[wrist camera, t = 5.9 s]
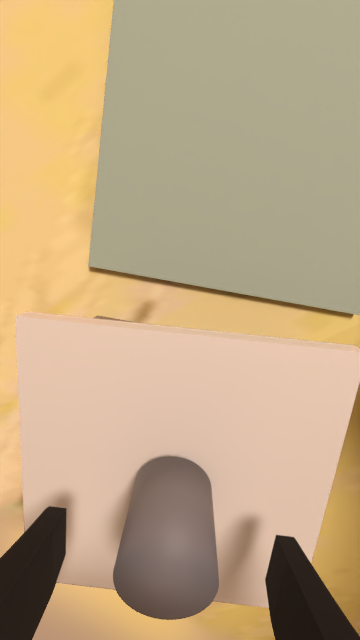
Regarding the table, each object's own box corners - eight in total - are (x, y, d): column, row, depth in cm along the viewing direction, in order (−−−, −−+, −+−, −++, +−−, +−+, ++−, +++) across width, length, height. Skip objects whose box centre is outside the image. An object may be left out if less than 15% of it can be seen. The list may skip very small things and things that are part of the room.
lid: (354, 345, 11) (461, 407, 7) (292, 591, 14) (336, 743, 10) (27, 311, 11) (-77, 350, 7) (35, 560, 14) (-33, 696, 10)
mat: (465, -19, 12) (474, -28, 11) (355, 313, 15) (359, 315, 15) (125, -81, 12) (122, -92, 11) (90, 265, 15) (88, 266, 15)
